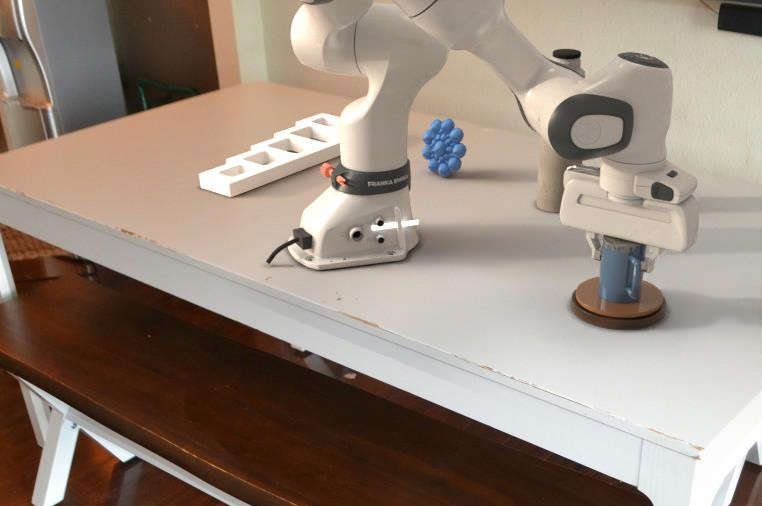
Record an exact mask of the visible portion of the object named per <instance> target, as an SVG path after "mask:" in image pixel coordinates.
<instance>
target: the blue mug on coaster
mask: <svg viewBox="0 0 762 506" xmlns="http://www.w3.org/2000/svg"><path fill="white" fill-rule="evenodd" d="M601 246H602V252H601V261H600V264H599V276H595V277H591V278H588V279H586V280H584V281H582V282H581V283H580V284H578V285H577V287H576V289H575V290H576V300H577V301H578V303H579V304H580V305H581V306H583V307H584V308H586V309H587V310H589V311H592V312H594V313H597V314H600V315H605V316H610V317H618V318H633V317H641V316H645V315H648V314H651V313H653V312H655V311H657V310H658V309H659V308H660V307H661V306H662V304H663V296H664V294H663V292H662V291H661V289H660V288H659V287H657V286H656V285H655V284H653V283H651V282H649V281H647V280H645V279H644V273H645V272H642V271H641V265H642V264H641V261H642V260H643V259H644V258H645V257H647V249H648V248H647V247H648V245H646V244H641V243H637V242H633V241H628V240H624V239H620V238H615V237H611V236H607V235H603V236H602V243H601Z"/></svg>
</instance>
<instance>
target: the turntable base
mask: <svg viewBox="0 0 762 506" xmlns="http://www.w3.org/2000/svg"><path fill="white" fill-rule="evenodd" d="M570 304H571V310H572V312H573V313H574V315H575V316H576V317H577V318H579V319H581V320H582V321H584V322H586V323H588V324H590V325H593V326H595V327H599V328H604V329H608V330H609V329H610V330H617V331H632V330H640V329H645V328H648V327H652V326H654V325H656V324H657V323H659V322H661V320H662V319H663V318H664V317H665V315H666V309H667V300H666V298H665V296H664V295H663V304H662V306H661V307H660V308H659V309H658V310H657V311H655V312H653V313H651V314H648V315H645V316H641V317H633V318H618V317H610V316H605V315H600V314H597V313H594V312H592V311H589V310H587V309H586V308H584V307H583V306H581V305H580V304H579V303H578V301H577V300H576V289H575V290H574V291H572V295H571V303H570Z"/></svg>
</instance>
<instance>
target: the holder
mask: <svg viewBox="0 0 762 506" xmlns="http://www.w3.org/2000/svg"><path fill="white" fill-rule="evenodd" d="M339 119H340V116H337V115H332V114H329V113H324V112H321V113H318V114H315V115H313V116H309V117H306V118H304V119H301V120H300V119H299V120H297V121H295V126H292V127H289V128H286V129H284V130H280V131H277V132H274V133H273V138H270V139H268V140H264V141H262V142H259V143H255V144H253V145H250V150H248V151H246V152H243V153H240V154H237V155H234V156H231V157H228V158H226V159H225V164H222V165H219V166H217V167H214V168H212V169H207V170H205V171H203V172H200V173H199V174H198V177H199V184H200V188H201V189H203V190H207V191H210V192H214V193H217V194H219V195H222V196H226V197H229V198H233V197H235V196H238V195H241V194H243V193H246V192H249V191H251V190H254V189H256V188H259V187H262V186H265V185H267V184H269V183H273V182H275V181H279V180H280V179H283V178H286V177H288V176H290V175H293V174H296V173H299V172H301V171H304V170H306V169H308V168H309V169H310V168H312V167H314V166H317V165H319V164H322V163H325V162H327V161H330V160H332V159H335V158H338V157H341V153H340V136H339Z"/></svg>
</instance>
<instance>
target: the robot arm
mask: <svg viewBox="0 0 762 506" xmlns="http://www.w3.org/2000/svg"><path fill="white" fill-rule="evenodd" d="M298 1H299V2H301V3H303V4H302V5H301V6H300V7H299V9H298V10H297V11H296V13H295V14H294V17H293V18H292V21H291V26H290V43H291V47H292V51H293V53H294V55H295V57H296V58H297V59H298V61H299V62H300V64H302V65H303V66H305V67H308V68H312V69H314V70H316V71H320V72H323V73H326V74H329V75H330V74H332V75H342V76H351V77H361V78H362V77H365V78H367V79H368V91H367V94H366V95H363V96H361V97H359V98H357V99H355V100H354V101H352V102H350V103H348V104H347V105H346V106H345V107H344V108H343V110H342V111H341V113H340V116H339V117H340V119H339V136H340V153H341V155H340V160H339V162H338V164H337V165H336V166H335V167H334V166H333V165H331V164H330V163H329V162H323V164H322V165H321V166H320V173H321V174H322V175H324V176H325V177H326V178H327V179H328V178H329V179H330V182H331V185H330V186H329V187H328V188H327V189H326V190H325V191H324V192H323V193H321V194H320V195H319V196H318V197H317V198H315V200H314V201H312V202H311V203H310V204H309V205H308V206H307V207H305V208H304V209H303V211H302V214H301V218H300V224H299V227H298V228H293V229H292V235H291V236H289V238H288V240H287V241H286V242H284V243H282V244H280V245H279V246H278V247H277V248H275V249H274V250H273V251H272V252H271V253H270V254H269V256H268V257H267V259H266V260H265V262H266V263H267V264H268V265H270V264H271V263H272V262H273V260H274V259H275V258H276V257H277V255H278V254H279V253H281V252H282V251H284V250H285V249H286V248H287V250H288V252H289V254H290V255H291V256H292V258H293V259H294V260H296V261H297V262H298V263H300V264H301V265H302V266H304V267H307V268H309V269H313V270H317V271H324V270H332V269H333V270H334V269H341V268H348V267H349V268H350V267H358V266H364V265H372V264H373V265H375V264H382V263H388V262H389V263H391V262H399V261H402V260H404V259H406V257H407V255H408V253H409V251H411V250H412V249H414V248H415V247H417V245H418V243H419V241H420V238H419V235H418V232H417V229H416V225H417V226H418V225H419V220H418V219H415V220H414V217H413V210H412V206H411V196H410V191H411V187H412V171H411V161H410V159H409V158H408V137H409V136H408V135H409V118H410V113H411V109H412V106H413V103H414V101H415V99H416V97H417V96H418V94H419V92H420V91H421V89H422V88H424V86H425V85H426V84H428V83H429V82H430V81H431V80H432V79H434V77H436V76H437V75H438V74H439V73H440V72H441V71H442V69H443V68H444V67H445V65H446V63H447V60H448V58H449V55H450V50H451V51H466V52H469V53H471V54H472V55H474V56H475V57H477V58H478V59H479V60H480V61H482V63H484V65H486V66H487V68H489V69H490V70H491V72H493V73H494V75H496V76H497V77H498V78H499V80H501V81H502V82H503V83H504V84H505V85H506V86H507V87H508V89H509V90H510V91H511V93H513V95H514V97H515V99H516V100H515V101H516V104H517V106H518V108H519V112H520V114H521V117H522V119H523V121H524V122H525V124H526V125H527V127H528V128H529V129H531V130H532V131H534V132H535V133H536V135H538V136H539V138H540V137H541V138H542V139H543V140H544V141H545V142H546V143H547V144H548V145H549V146H550V147H551V148H552V149H553V150H554V151H555V152H556V153H557V154H559V155H560V156H561V157H563V158H565V159H568V160H571V161H582V162H583V161H590V160H594V159H599V158H601V159H600V167H598V166H592V165H584V163H582V164H574V166H570V167H568V168H567V169H566V170H565V173H564V181H563V185H564V188H565V190H564V193H563V197H562V202H561V208H560V213H559V220H560V222H561V224H562V225H563V226H564V227H568V228H573V229H577V230H581V231H585V238H586V241H587V243H588V245H589V247H590V249H591V257H590V258H591V260H593V261H598V262H601V252H602V243H601V241H600V239H599V235H607V236H611V237H615V238H620V239H624V240H628V241H633V242H637V243H641V244H646V245H647V246H649V252H650V253H652V254H651V255H650V257H649V256H646V257H645V258H644V259H643V260H642V261H641V264H642V265H641V271H642V272H644V273H647V274H651V273H652V272H654V269H655V264H656V260H657V258H659V256H660V255H661V254H662V253H663V251H664V250H667V251H672V252H676V253H681V254H683V253H686V251H688V250H690V249H691V248H692V247H693V246H694V245H695V244H696V243H697V240H698V233H699V225H700V224H699V222H700V221H699V220H700V207H699V202H698V200H697V198H696V196H695V195H694V192H695V191H696V189H698V188H697V187H698V184H699V183H698V181H699V180H698V178H697V176H695V175H693V174H691V173H690V172H688V171H686V170H684V169H682V168H681V167H678V166H677V165H675V164H674V163H671V161H669V160H667V155H668V151H667V146H666V141H667V140H666V139H667V134H668V131H669V129H670V127H671V122H672V115H673V114H672V113H673V102H674V101H673V99H674V78H673V73H672V69H671V68H670V67H669V65H667V64H666V63H665V62H664V61H663V60H661V59H659V58H657V57H656V56H652V55H649V54H646V53H640V52H635V51H634V52H633V51H626V52H621V53H617V55H615V57H614V58H613V60H611V61H610V62H609V63H608V64H606V65H605V66H604V67H602V68H601V69H599V70H597V71H596V72H594V73H592V74H589V76H586V77H585V78H583V77H582V75H581V74H580V73H579V72H578V71H576V70H575V69H573V68H572V67H570V66H568V65H565V64H562V63H559V62H556V61H553V59H550V58H548V57H546V56H545V55H544V54H543V53H542V52H541V51H540V50H539V49H538V48H537V47H536V46H535V45H534V44H533V43H532V42H531V40H529V39H528V38H527V36H525V34H524V33H522V31H521V30H520V29H519V28H518V27H517V26H516V25H515V23H513V21H512V20H511V18H510V17H509V16H508V13H507V12H506V9H505V1H506V0H392V2H393V3H389V2H388V3H387V2H375V0H298ZM572 169H573V170H572Z"/></svg>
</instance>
